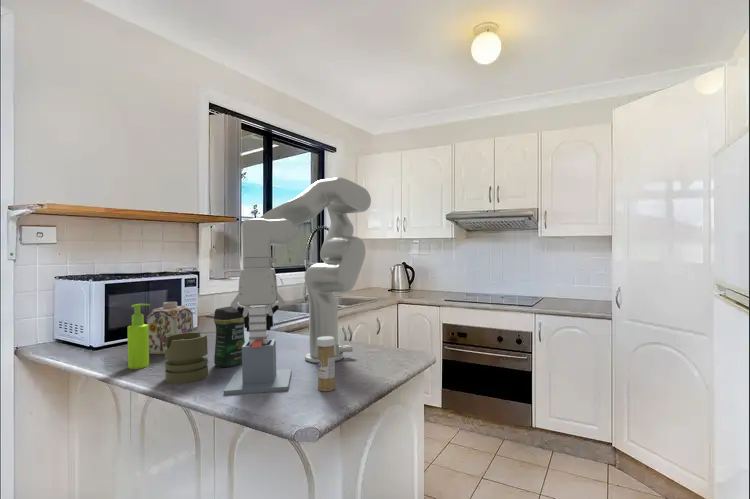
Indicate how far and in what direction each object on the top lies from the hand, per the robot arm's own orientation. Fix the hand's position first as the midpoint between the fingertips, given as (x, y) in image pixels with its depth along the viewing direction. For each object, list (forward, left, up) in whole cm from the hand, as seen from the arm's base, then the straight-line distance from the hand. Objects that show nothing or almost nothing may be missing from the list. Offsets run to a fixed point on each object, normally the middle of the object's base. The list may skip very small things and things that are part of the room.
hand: (258, 329), depth 116 cm
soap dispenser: (+41, -26, -15) cm, 51 cm away
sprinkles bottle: (-18, +9, -15) cm, 25 cm away
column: (0, 0, -12) cm, 12 cm away
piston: (+22, -10, -15) cm, 28 cm away
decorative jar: (+38, -46, -15) cm, 62 cm away
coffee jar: (+12, -22, -15) cm, 29 cm away
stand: (0, 0, -15) cm, 15 cm away
